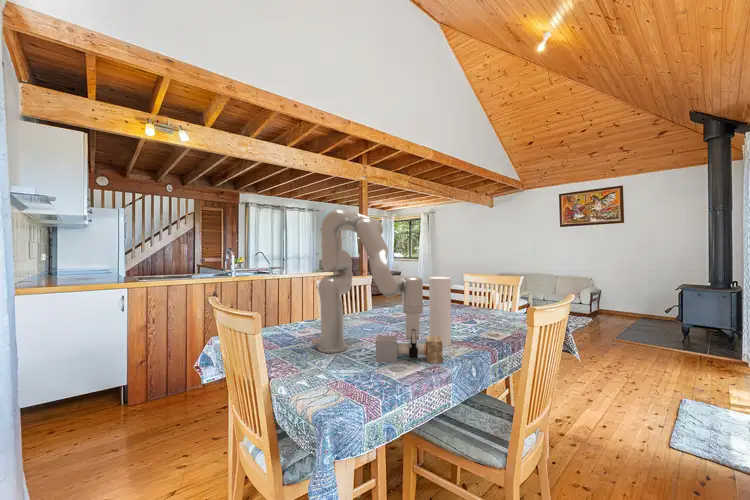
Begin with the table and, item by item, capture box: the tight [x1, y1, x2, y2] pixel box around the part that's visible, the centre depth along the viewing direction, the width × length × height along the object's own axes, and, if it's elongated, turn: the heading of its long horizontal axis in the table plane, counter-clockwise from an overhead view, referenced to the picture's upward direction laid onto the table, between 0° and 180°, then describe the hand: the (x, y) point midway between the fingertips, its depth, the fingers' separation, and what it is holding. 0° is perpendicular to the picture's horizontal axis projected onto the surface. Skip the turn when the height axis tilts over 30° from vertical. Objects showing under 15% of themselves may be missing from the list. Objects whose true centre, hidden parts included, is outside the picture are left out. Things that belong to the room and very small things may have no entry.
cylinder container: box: [428, 275, 452, 348], centre depth 146 cm, size 9×9×30 cm
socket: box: [425, 335, 443, 364], centre depth 125 cm, size 6×7×8 cm
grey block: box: [375, 335, 398, 363], centre depth 127 cm, size 8×7×8 cm
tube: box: [397, 342, 427, 356], centre depth 126 cm, size 15×5×5 cm, turn 85°
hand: (413, 355), depth 126 cm, fingers closed on tube, 4 cm apart
